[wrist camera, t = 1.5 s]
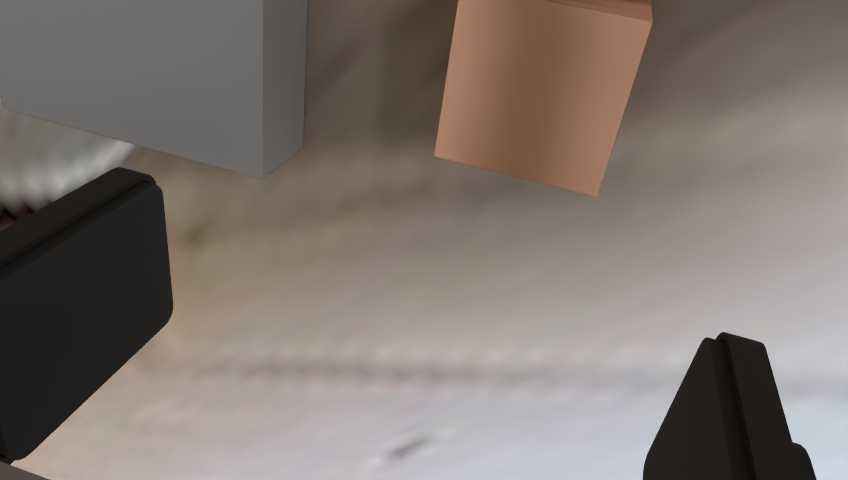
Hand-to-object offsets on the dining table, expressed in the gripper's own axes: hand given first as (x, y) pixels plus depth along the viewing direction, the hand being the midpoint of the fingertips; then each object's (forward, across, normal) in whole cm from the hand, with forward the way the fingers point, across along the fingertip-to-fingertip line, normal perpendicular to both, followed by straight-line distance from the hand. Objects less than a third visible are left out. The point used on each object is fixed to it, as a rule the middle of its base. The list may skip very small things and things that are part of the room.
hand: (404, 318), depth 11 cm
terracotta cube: (+19, 0, 0) cm, 19 cm away
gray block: (+19, +18, 0) cm, 26 cm away
